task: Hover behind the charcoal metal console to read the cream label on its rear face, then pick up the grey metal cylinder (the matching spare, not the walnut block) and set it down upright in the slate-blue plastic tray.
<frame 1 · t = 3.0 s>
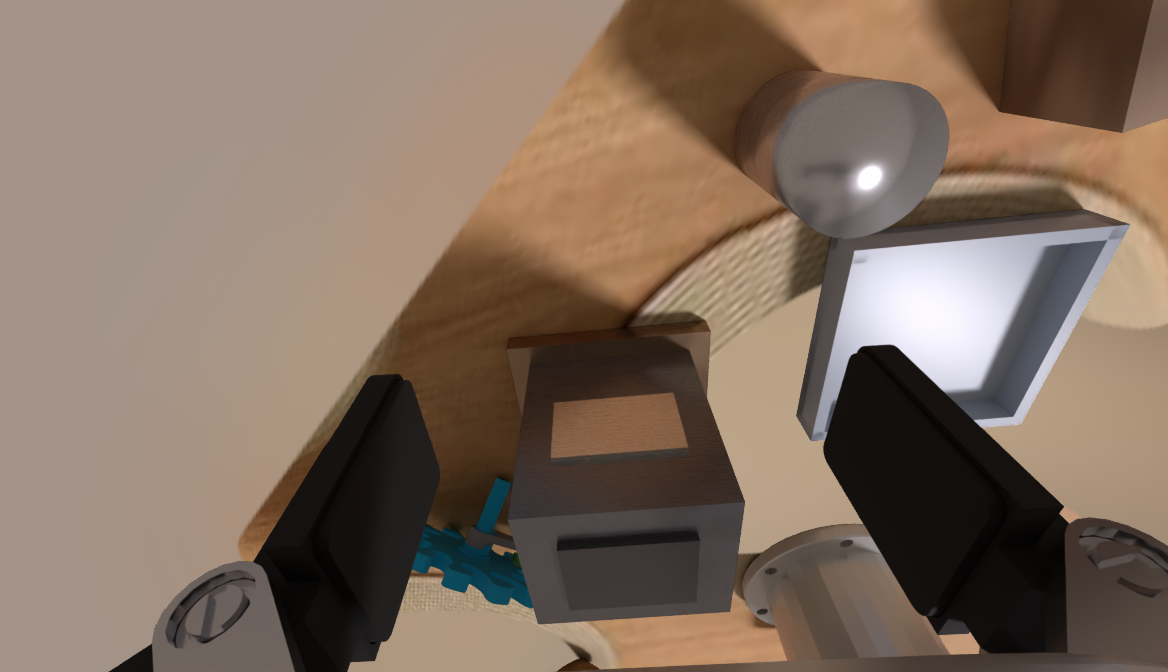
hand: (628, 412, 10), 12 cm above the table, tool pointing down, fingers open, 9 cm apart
tray: (921, 326, 24), on the table
gear: (490, 506, 31), on the table
block: (1080, 13, 17), on the table
metal cylinder: (789, 132, 19), on the table
fruit: (579, 658, 43), on the table
console: (612, 398, 26), on the table
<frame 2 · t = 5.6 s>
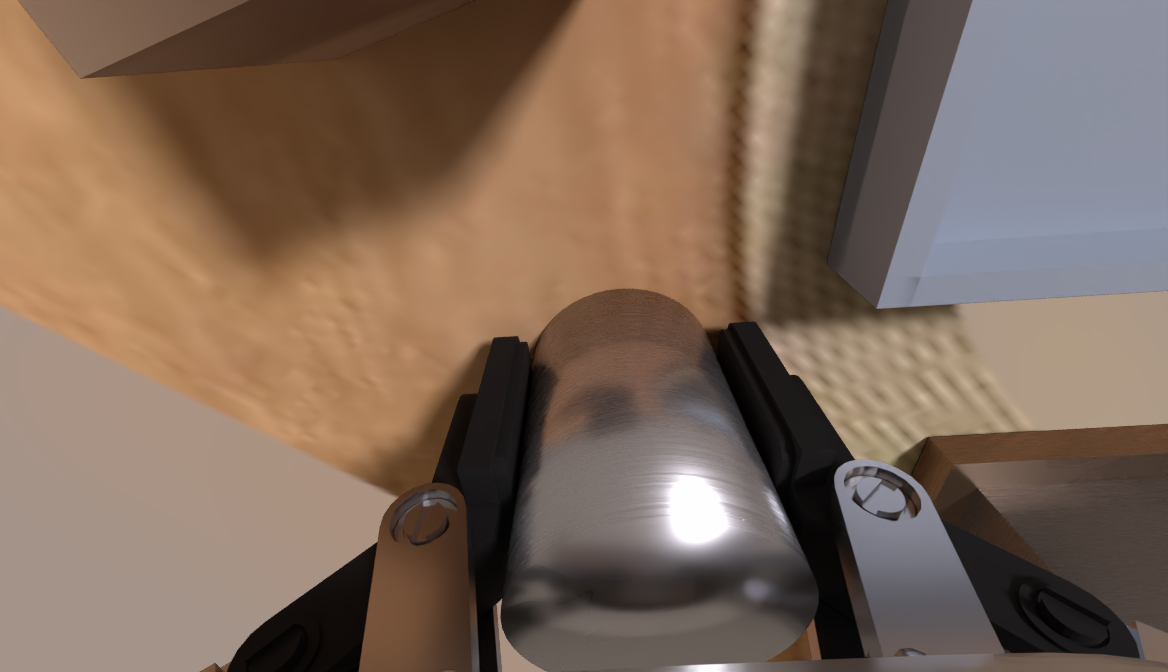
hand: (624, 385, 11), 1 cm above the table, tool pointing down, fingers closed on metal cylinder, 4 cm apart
metal cylinder: (622, 367, 12), on the table, touching gripper
console: (1016, 538, 16), on the table
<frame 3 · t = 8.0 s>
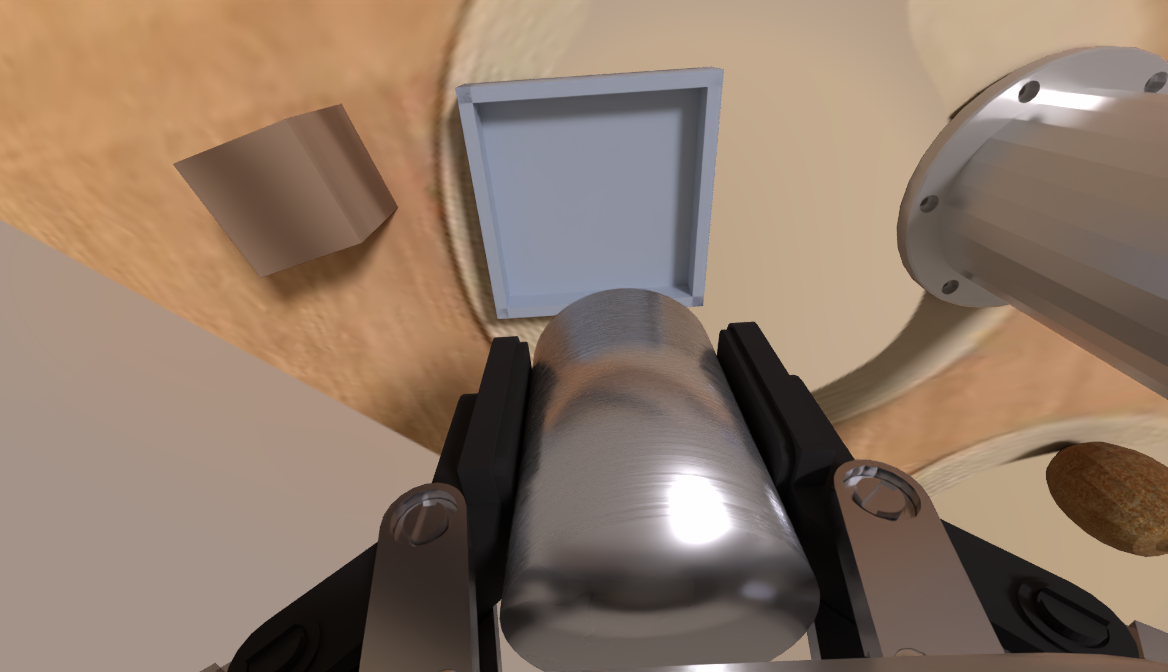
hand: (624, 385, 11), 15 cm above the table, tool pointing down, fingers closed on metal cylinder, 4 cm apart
tray: (593, 199, 24), on the table
block: (326, 175, 23), on the table
metal cylinder: (622, 367, 12), point 14 cm above the table, touching gripper
fruit: (1062, 449, 35), on the table
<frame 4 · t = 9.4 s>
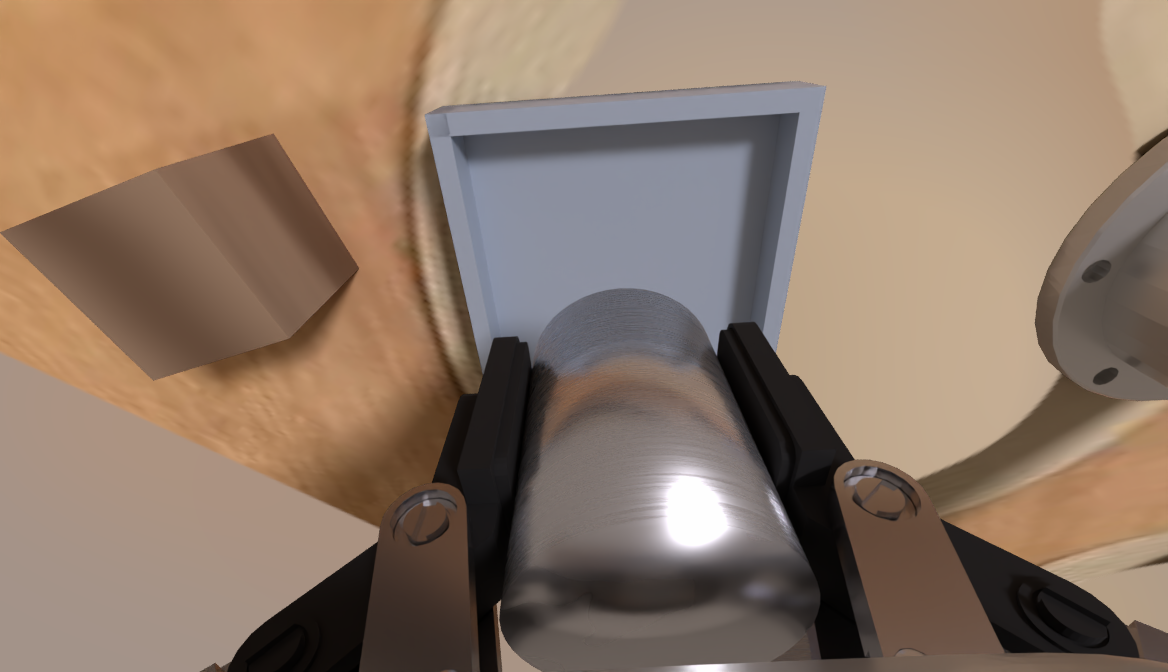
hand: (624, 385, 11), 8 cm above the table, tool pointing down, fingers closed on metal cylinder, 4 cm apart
tray: (621, 258, 17), on the table
block: (261, 226, 17), on the table
metal cylinder: (622, 367, 12), point 7 cm above the table, touching gripper
console: (681, 524, 26), on the table
when the fingers open (3 cm above the table, at t = 10.7 s): metal cylinder drops 1 cm, resting on tray.
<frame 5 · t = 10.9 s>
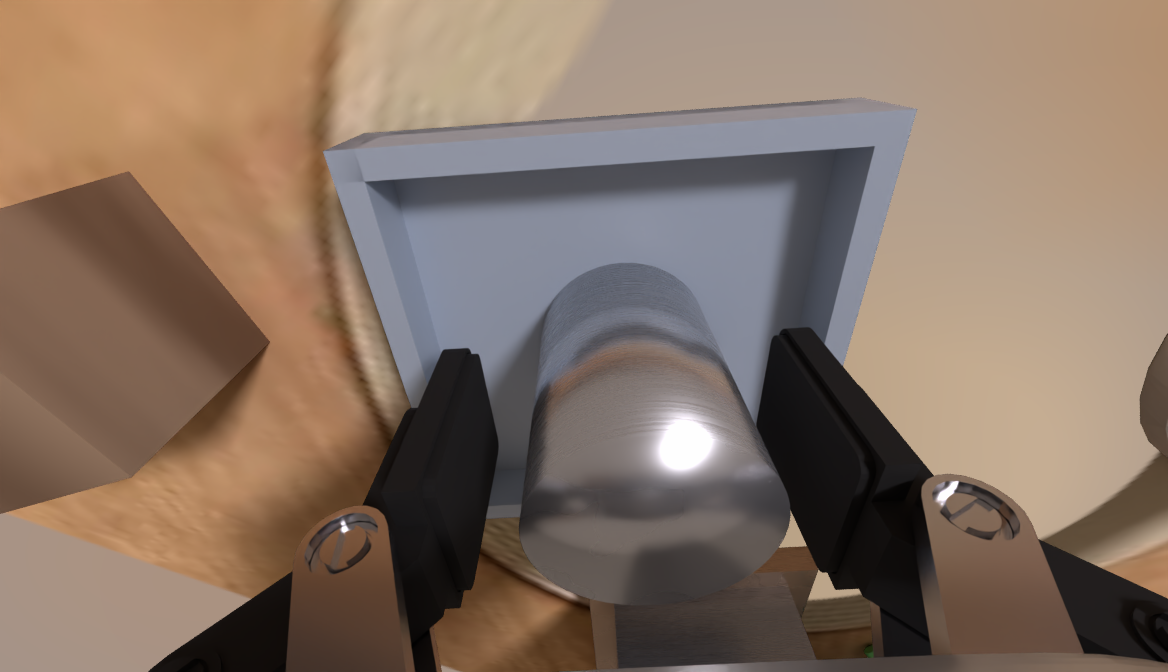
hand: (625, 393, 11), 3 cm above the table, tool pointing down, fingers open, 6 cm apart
tray: (616, 327, 13), on the table
block: (132, 291, 13), on the table
metal cylinder: (622, 337, 13), point 1 cm above the table, touching tray
console: (689, 615, 22), on the table
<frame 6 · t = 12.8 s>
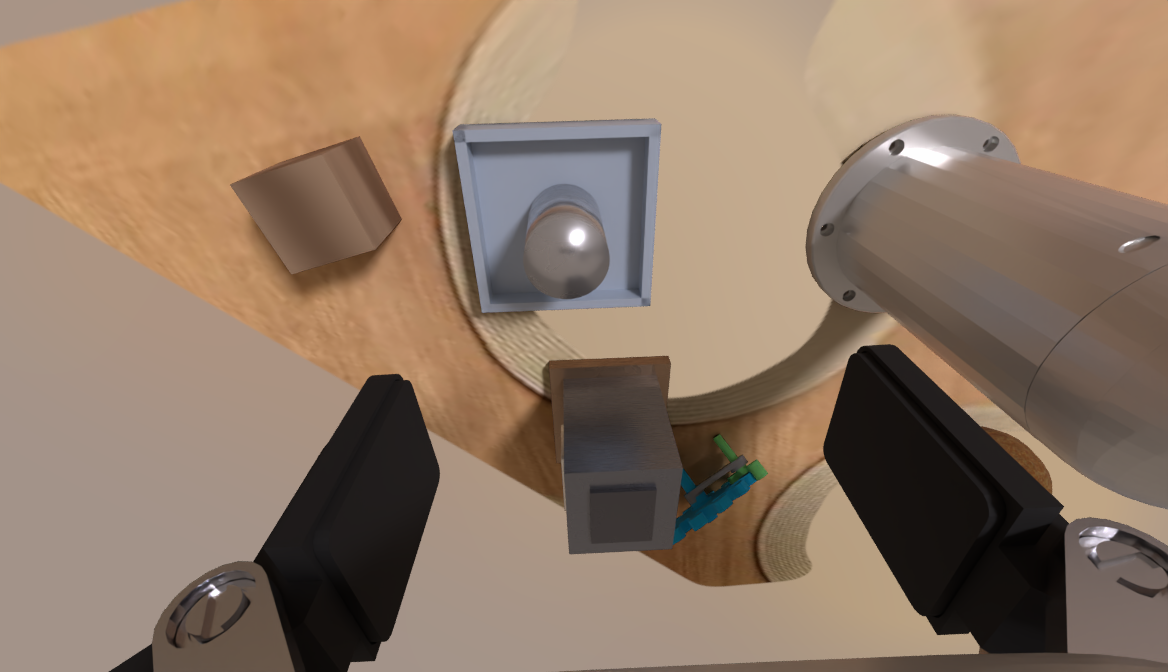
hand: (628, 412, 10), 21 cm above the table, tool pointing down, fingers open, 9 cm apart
tray: (562, 217, 29), on the table
gear: (698, 468, 43), on the table
block: (344, 191, 28), on the table
metal cylinder: (564, 219, 29), point 1 cm above the table, touching tray
fruit: (955, 433, 42), on the table
console: (608, 408, 38), on the table
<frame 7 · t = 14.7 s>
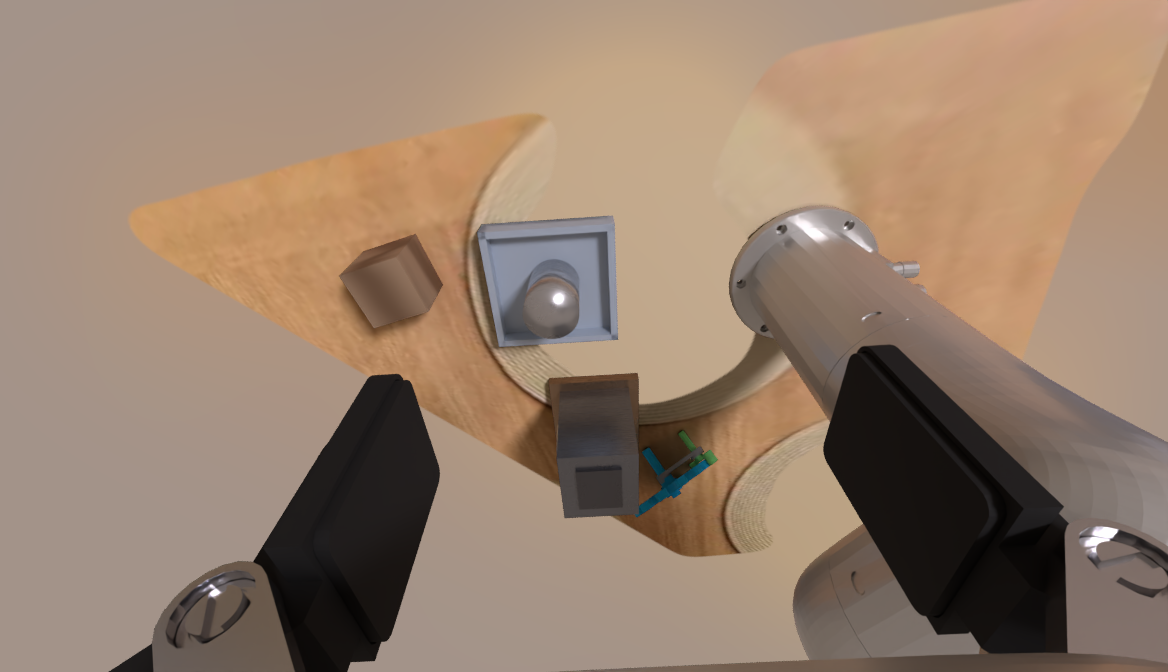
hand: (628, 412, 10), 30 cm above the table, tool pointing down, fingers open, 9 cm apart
tray: (553, 279, 42), on the table
gear: (669, 457, 55), on the table
block: (404, 268, 41), on the table
metal cylinder: (554, 282, 41), point 1 cm above the table, touching tray
console: (595, 412, 50), on the table
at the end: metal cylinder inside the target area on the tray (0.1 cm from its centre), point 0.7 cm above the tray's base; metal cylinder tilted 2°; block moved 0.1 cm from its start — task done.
